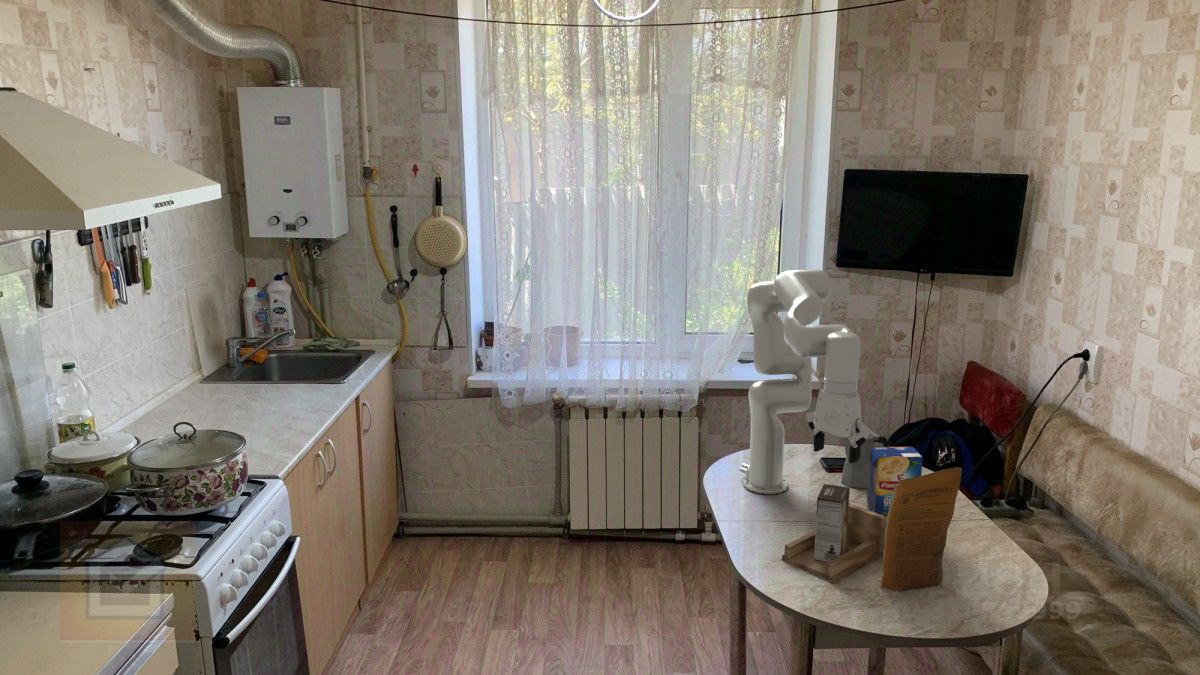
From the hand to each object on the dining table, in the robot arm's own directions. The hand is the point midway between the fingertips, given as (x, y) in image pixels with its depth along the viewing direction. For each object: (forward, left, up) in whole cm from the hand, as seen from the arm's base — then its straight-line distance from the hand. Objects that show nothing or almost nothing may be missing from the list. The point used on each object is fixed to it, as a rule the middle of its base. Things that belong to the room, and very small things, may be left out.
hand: (836, 455), depth 210 cm
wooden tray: (0, +1, -26) cm, 26 cm away
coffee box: (0, 0, -25) cm, 25 cm away
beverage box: (+2, +23, -27) cm, 35 cm away
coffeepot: (-21, +45, -27) cm, 56 cm away
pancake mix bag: (+20, +4, -27) cm, 34 cm away
